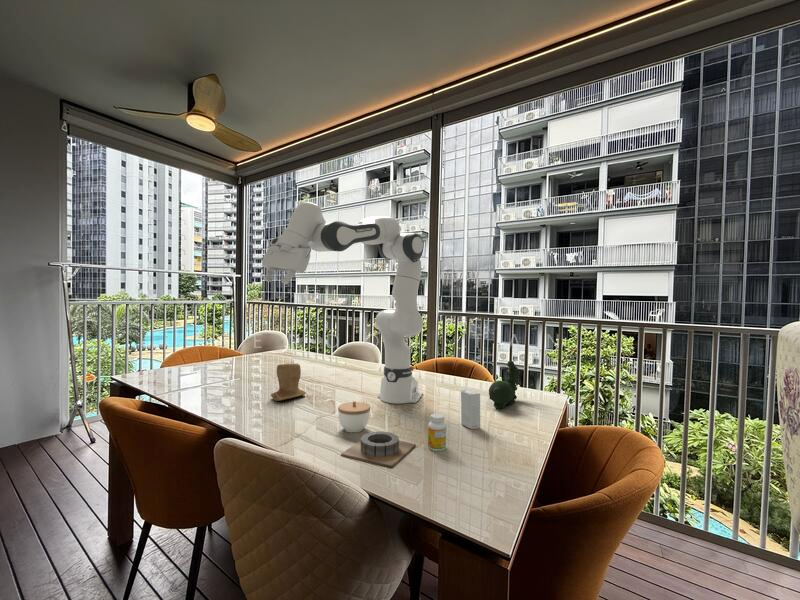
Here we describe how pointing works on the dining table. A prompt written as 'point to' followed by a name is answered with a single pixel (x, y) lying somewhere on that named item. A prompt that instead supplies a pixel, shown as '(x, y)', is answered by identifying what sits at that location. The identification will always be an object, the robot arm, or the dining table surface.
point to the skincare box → (470, 409)
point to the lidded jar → (354, 416)
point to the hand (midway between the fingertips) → (275, 282)
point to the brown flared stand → (288, 382)
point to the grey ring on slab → (379, 449)
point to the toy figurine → (505, 388)
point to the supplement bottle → (437, 433)
